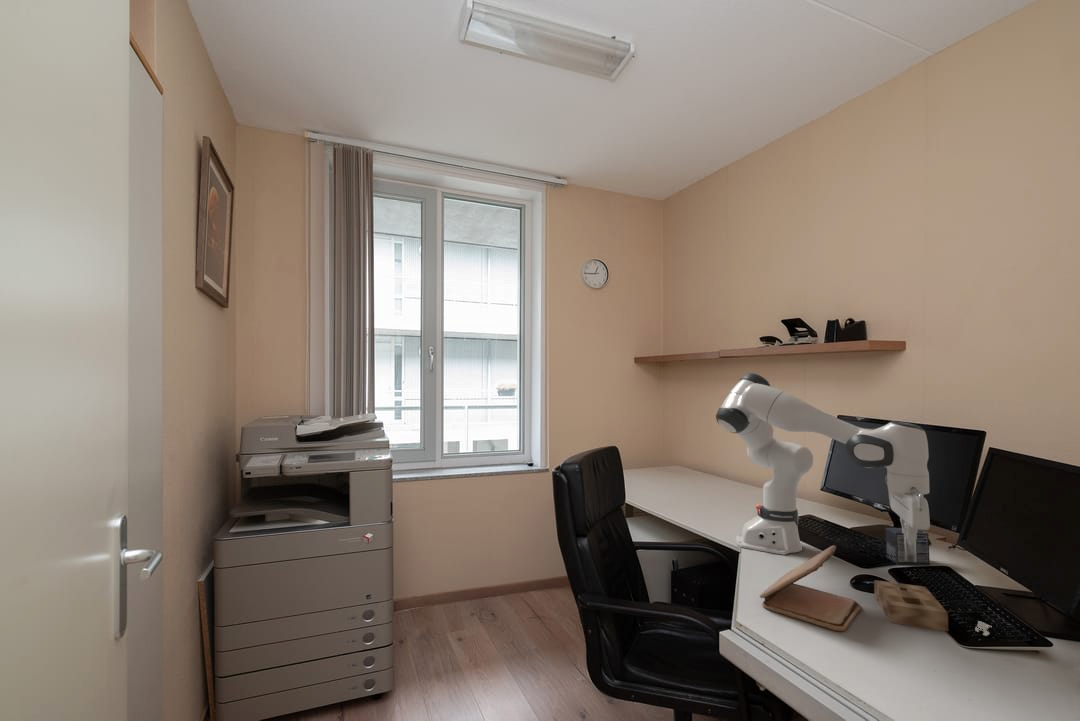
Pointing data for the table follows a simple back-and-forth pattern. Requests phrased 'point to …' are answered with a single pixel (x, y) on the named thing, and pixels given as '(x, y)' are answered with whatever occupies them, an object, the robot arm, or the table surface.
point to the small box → (898, 550)
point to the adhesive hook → (982, 626)
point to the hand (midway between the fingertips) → (909, 537)
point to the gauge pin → (909, 546)
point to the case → (810, 598)
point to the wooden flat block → (910, 605)
